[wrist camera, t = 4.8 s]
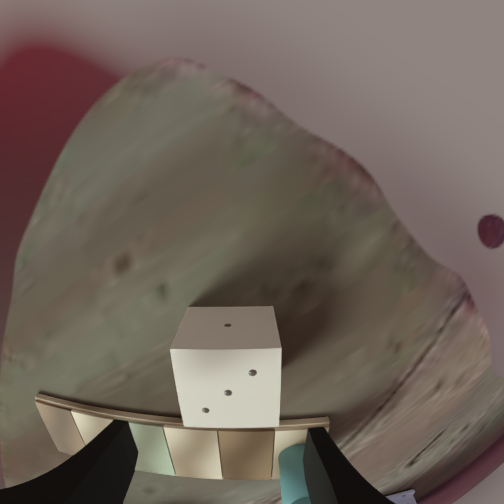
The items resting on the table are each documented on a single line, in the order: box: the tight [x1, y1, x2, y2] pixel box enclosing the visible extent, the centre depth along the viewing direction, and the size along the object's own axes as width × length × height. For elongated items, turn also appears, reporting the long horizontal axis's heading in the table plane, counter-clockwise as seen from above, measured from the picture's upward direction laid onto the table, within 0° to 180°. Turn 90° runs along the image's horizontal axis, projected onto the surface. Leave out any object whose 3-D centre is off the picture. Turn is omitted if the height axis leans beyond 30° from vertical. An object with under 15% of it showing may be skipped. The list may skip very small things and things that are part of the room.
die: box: [170, 306, 282, 428], centre depth 16 cm, size 5×5×5 cm
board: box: [35, 393, 330, 480], centre depth 21 cm, size 24×7×1 cm, turn 90°
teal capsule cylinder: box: [278, 444, 311, 504], centre depth 17 cm, size 3×3×7 cm
